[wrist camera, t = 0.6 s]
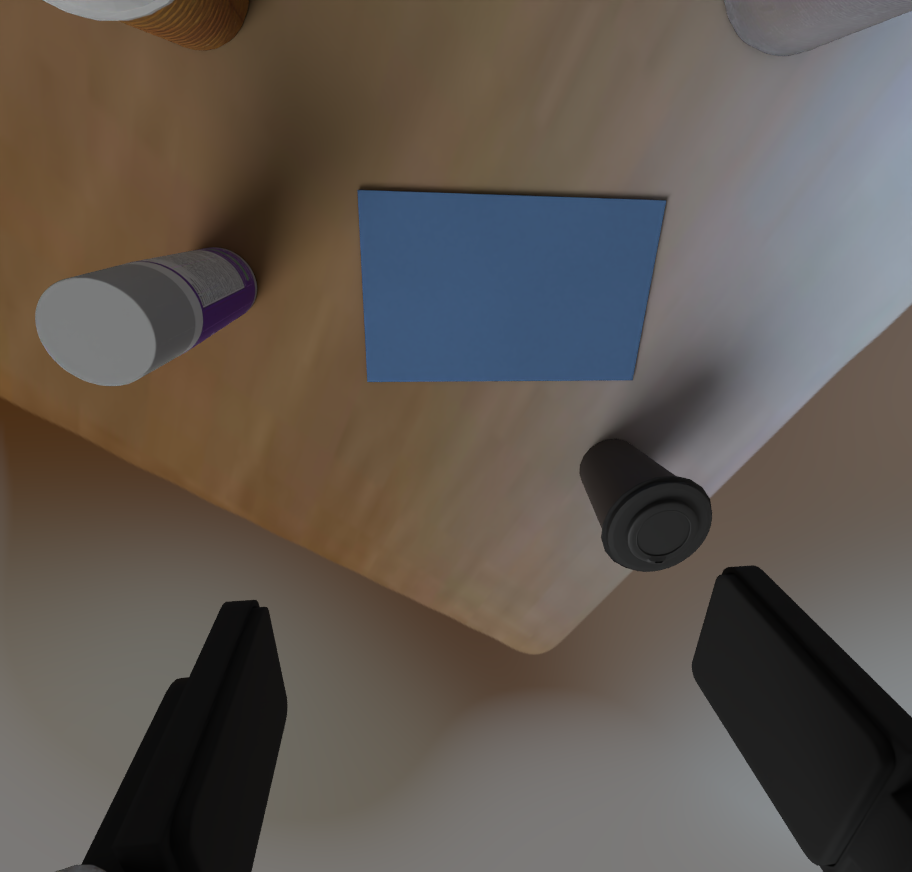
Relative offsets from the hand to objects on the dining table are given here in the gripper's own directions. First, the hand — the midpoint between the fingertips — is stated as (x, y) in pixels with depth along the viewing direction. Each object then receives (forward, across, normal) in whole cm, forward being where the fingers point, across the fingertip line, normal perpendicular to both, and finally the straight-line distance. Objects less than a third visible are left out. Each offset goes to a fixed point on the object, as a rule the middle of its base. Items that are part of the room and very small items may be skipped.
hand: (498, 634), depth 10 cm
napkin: (+28, -6, -3) cm, 29 cm away
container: (+29, +14, -4) cm, 32 cm away
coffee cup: (+29, -16, +12) cm, 35 cm away
